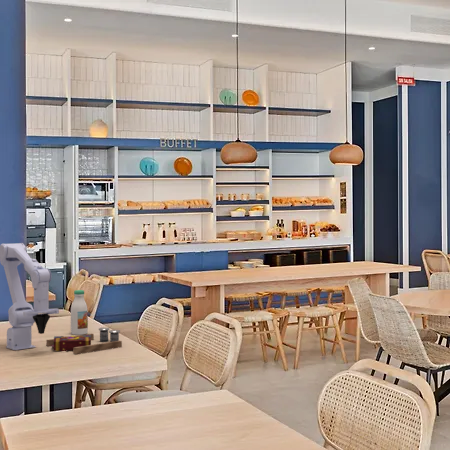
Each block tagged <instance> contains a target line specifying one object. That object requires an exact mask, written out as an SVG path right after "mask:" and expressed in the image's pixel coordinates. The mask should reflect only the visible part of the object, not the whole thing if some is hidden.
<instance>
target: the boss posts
mask: <svg viewBox="0 0 450 450" xmlns="http://www.w3.org/2000/svg"><path fill="white" fill-rule="evenodd" d="M98 331H99V342H100V343H107V342H113V341H120V332H121V330H119V329H110V327H106V326H105V327H99V328H98ZM109 333H110V334H109ZM109 335H110V336H109Z"/></svg>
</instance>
